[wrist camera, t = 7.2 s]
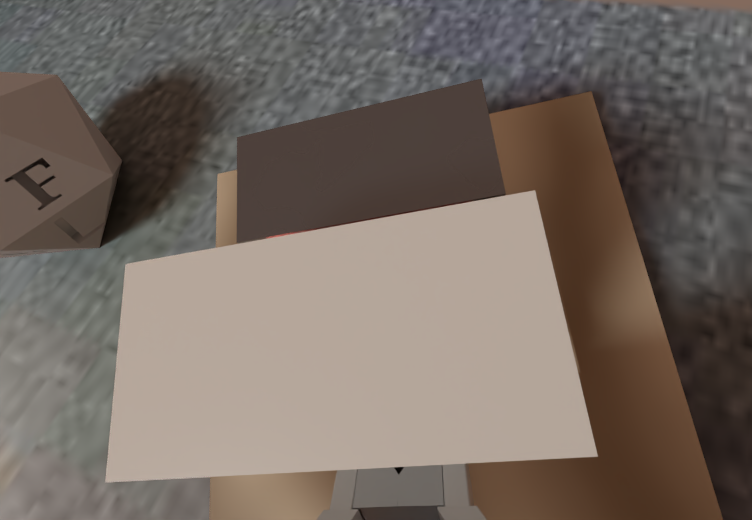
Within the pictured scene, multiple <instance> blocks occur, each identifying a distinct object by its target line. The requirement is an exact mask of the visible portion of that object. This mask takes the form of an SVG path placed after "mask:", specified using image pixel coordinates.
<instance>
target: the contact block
mask: <svg viewBox="0 0 752 520" xmlns="http://www.w3.org/2000/svg"><path fill="white" fill-rule="evenodd" d="M505 195H506V192H505V188H504V183H503V178H502V173H501V169H500V164H499V159H498V155H497V150H496V145H495V140H494V136H493V131H492V126H491V121H490V117H489V112H488V107H487V103H486V98H485V93H484V88H483V84H482V79H478V80H474V81H470V82H466V83H462V84H457V85H453V86H449V87H445V88H441V89H437V90H432V91H428V92H424V93H420V94H416V95H412V96H407V97H403V98H399V99H395V100H391V101H387V102H382V103H378V104H374V105H370V106H366V107H362V108H357V109H353V110H349V111H345V112H341V113H337V114H332V115H328V116H324V117H320V118H316V119H312V120H307V121H303V122H299V123H295V124H291V125H286V126H282V127H278V128H274V129H270V130H266V131H261V132H257V133H253V134H249V135H245V136H241V137H237V242H236V243H238V244H240V243H246V242H251V241H257V240H262V239H268V238H273V237H279V236H284V235H290V234H295V233H301V232H306V231H312V230H317V229H323V228H329V227H334V226H340V225H345V224H351V223H356V222H362V221H367V220H373V219H378V218H384V217H389V216H395V215H401V214H406V213H412V212H417V211H423V210H428V209H434V208H439V207H445V206H450V205H456V204H461V203H467V202H472V201H478V200H484V199H489V198H495V197H500V196H505Z"/></svg>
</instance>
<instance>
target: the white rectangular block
mask: <svg viewBox="0 0 752 520" xmlns="http://www.w3.org/2000/svg"><path fill="white" fill-rule="evenodd" d="M581 457H598V455H597V451H596V446H595V442H594V438H593V434H592V430H591V425H590V421H589V417H588V413H587V408H586V404H585V400H584V396H583V391H582V387H581V383H580V379H579V374H578V370H577V366H576V362H575V358H574V353H573V349H572V345H571V341H570V336H569V332H568V328H567V324H566V319H565V315H564V311H563V307H562V302H561V298H560V294H559V290H558V286H557V281H556V277H555V273H554V269H553V264H552V260H551V256H550V252H549V247H548V243H547V239H546V235H545V230H544V226H543V222H542V218H541V214H540V209H539V205H538V201H537V197H536V192H535V190H533V191H528V192H522V193H517V194H511V195H506V196H500V197H495V198H489V199H484V200H478V201H472V202H467V203H461V204H456V205H450V206H445V207H439V208H434V209H428V210H423V211H417V212H412V213H406V214H401V215H395V216H389V217H384V218H378V219H373V220H367V221H362V222H356V223H351V224H345V225H340V226H334V227H329V228H323V229H317V230H312V231H306V232H301V233H295V234H290V235H284V236H279V237H273V238H268V239H262V240H257V241H251V242H246V243H240V244H234V245H229V246H223V247H218V248H212V249H207V250H201V251H196V252H190V253H185V254H179V255H174V256H168V257H162V258H157V259H151V260H146V261H140V262H135V263H129V264H126V266H125V277H124V288H123V298H122V309H121V320H120V331H119V341H118V352H117V363H116V373H115V384H114V395H113V406H112V416H111V427H110V438H109V449H108V459H107V470H106V481H105V482H122V481H141V480H161V479H180V478H199V477H218V476H237V475H256V474H275V473H294V472H314V471H333V470H352V469H371V468H390V467H409V466H428V465H447V464H466V463H486V462H505V461H524V460H543V459H562V458H581Z"/></svg>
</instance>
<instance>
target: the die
mask: <svg viewBox="0 0 752 520" xmlns="http://www.w3.org/2000/svg"><path fill="white" fill-rule="evenodd" d="M121 163H122V160H121V158H120V157H119V156H118V154H117V153H116V152H115V150H114V149H113V148H112V146H111V145H110V144H109V142H108V141H107V140H106V139H105V137H104V136H103V135H102V133H101V132H100V131H99V129H98V128H97V127H96V125H95V124H94V123H93V121H92V120H91V119H90V117H89V116H88V115H87V114H86V112H85V111H84V110H83V108H82V107H81V106H80V104H79V103H78V102H77V100H76V99H75V98H74V96H73V95H72V94H71V92H70V91H69V90H68V89H67V87H66V86H65V85H64V83H63V82H62V81H61V79H60V78H59V77H58V75H48V74H29V73H11V72H0V258H5V257H15V256H24V255H33V254H43V253H52V252H62V251H71V250H81V249H90V248H100V244H101V240H102V236H103V232H104V228H105V225H106V221H107V217H108V213H109V209H110V206H111V202H112V198H113V194H114V190H115V186H116V183H117V179H118V175H119V171H120V167H121Z"/></svg>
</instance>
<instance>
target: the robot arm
mask: <svg viewBox="0 0 752 520" xmlns="http://www.w3.org/2000/svg"><path fill="white" fill-rule="evenodd" d="M316 520H487V519H486V517H485V516H484V515H483V513H482V512H481V511H480V509H479V508H478V506H474V500H473V492H472V484H471V478H470V472H469V466H468V463H466V464H447V465H428V466H409V467H390V468H371V469H352V470H337V473H336V478H335V483H334V488H333V493H332V499H331V504H330V509H329V510H323V512H322V513H321V514H320V515H319V517H318V518H317V519H316Z"/></svg>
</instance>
